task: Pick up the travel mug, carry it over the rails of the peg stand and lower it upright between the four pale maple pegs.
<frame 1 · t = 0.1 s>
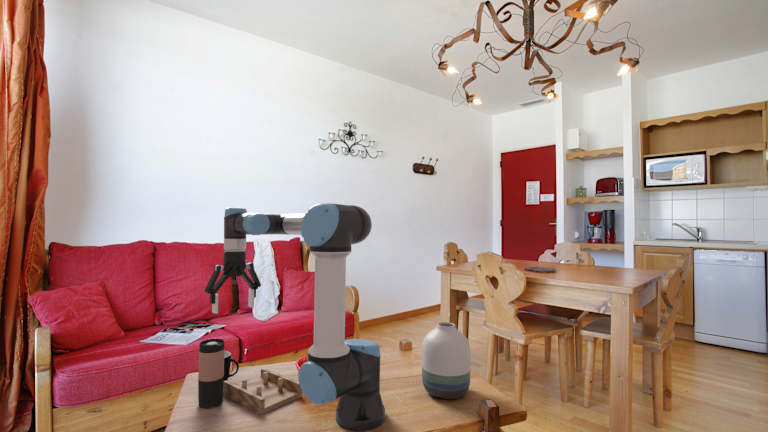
hand: (233, 309, 135), 28 cm above the table, fingers open, 13 cm apart
peg stand: (262, 395, 129), on the table
travel mug: (210, 404, 123), on the table
mug: (221, 383, 140), on the table
vase: (445, 393, 133), on the table
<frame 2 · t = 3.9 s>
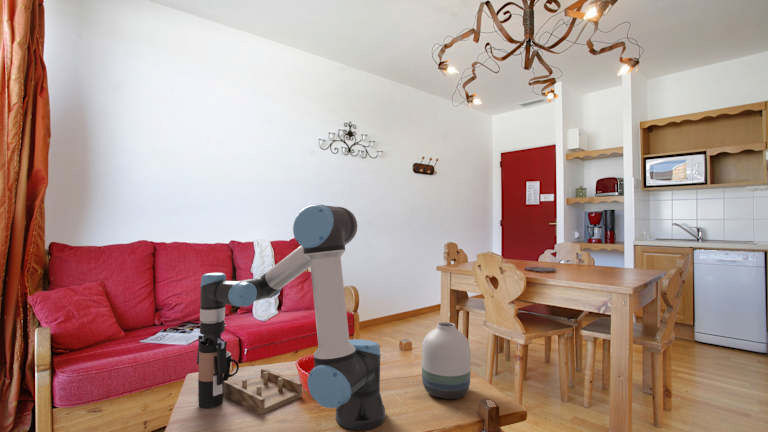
hand: (211, 390, 123), 4 cm above the table, fingers closed on travel mug, 8 cm apart
travel mug: (210, 404, 123), on the table, touching gripper
everything else where it was.
when the fingers open (8 cm above the table, at t = 10.0 s): travel mug drops 2 cm, resting on peg stand.
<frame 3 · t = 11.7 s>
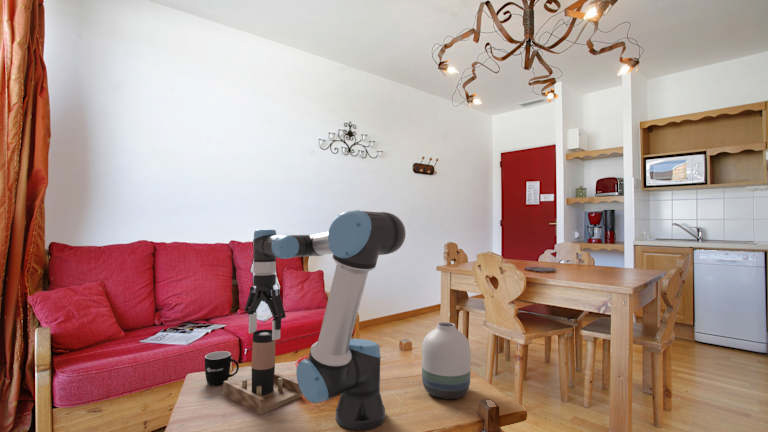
hand: (264, 336, 130), 20 cm above the table, fingers open, 13 cm apart
travel mug: (262, 391, 129), point 1 cm above the table, touching peg stand
everything else where it was.
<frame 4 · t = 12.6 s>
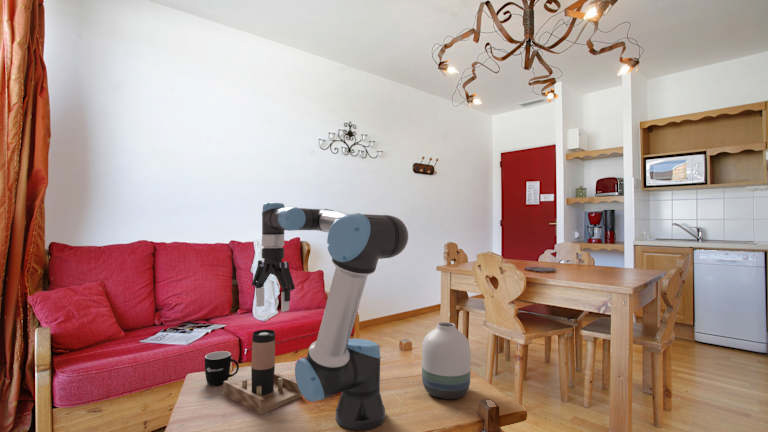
hand: (272, 308, 131), 30 cm above the table, fingers open, 13 cm apart
nothing on the table moved.
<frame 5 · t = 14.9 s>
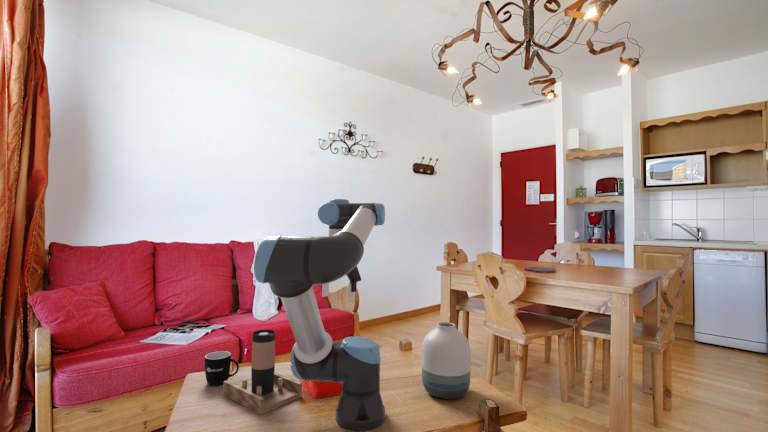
hand: (338, 298, 139), 32 cm above the table, fingers open, 13 cm apart
nothing on the table moved.
at the end: travel mug 0.1 cm off-centre on the peg stand, point 1.3 cm above the peg stand's base; travel mug tilted 0°; travel mug touching peg stand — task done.
